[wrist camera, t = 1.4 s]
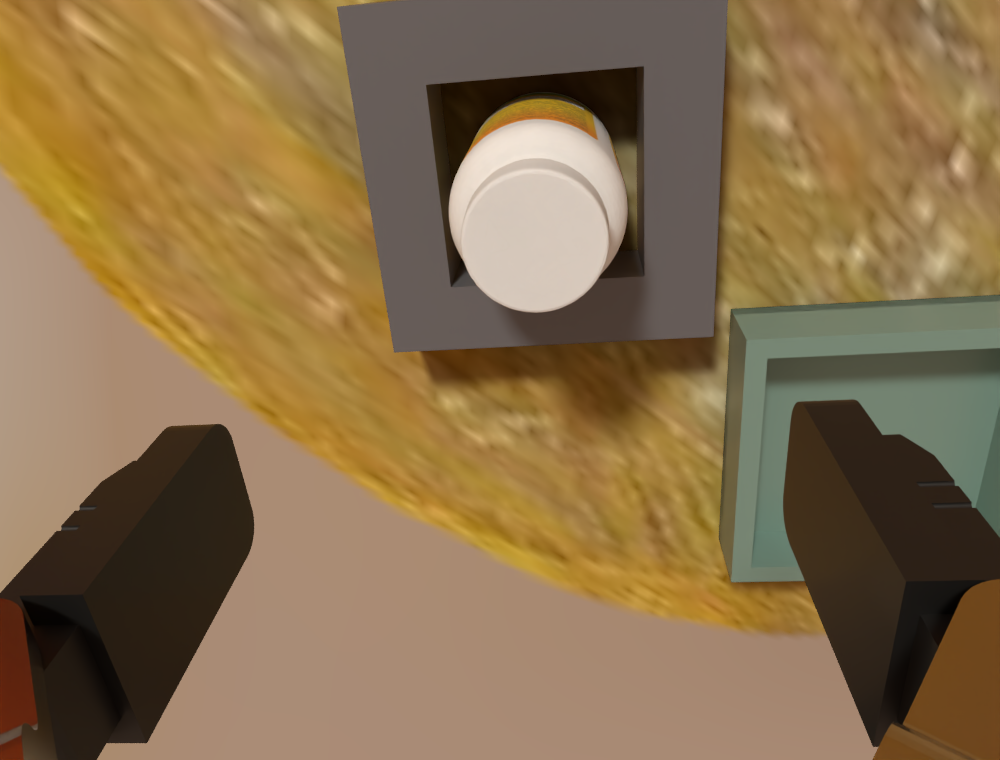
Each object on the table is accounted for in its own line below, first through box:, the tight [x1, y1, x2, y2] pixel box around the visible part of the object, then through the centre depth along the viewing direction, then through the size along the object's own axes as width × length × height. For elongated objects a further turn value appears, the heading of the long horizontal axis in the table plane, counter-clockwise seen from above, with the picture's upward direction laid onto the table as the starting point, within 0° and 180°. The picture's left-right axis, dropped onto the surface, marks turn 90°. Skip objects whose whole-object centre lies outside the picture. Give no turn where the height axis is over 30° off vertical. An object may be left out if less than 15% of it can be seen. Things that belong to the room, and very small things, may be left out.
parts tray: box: [719, 295, 1000, 582], centre depth 32 cm, size 12×12×3 cm
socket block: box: [337, 0, 728, 352], centre depth 28 cm, size 12×12×3 cm
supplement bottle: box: [449, 92, 628, 313], centre depth 25 cm, size 5×5×10 cm
